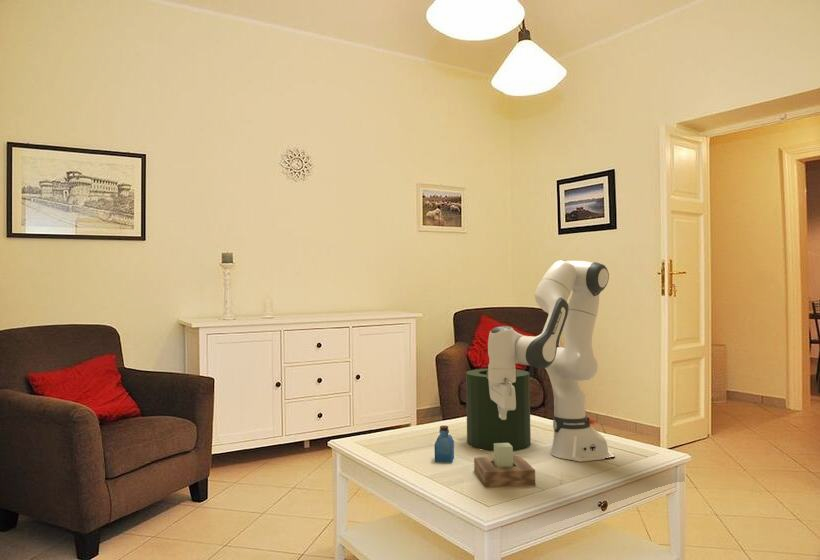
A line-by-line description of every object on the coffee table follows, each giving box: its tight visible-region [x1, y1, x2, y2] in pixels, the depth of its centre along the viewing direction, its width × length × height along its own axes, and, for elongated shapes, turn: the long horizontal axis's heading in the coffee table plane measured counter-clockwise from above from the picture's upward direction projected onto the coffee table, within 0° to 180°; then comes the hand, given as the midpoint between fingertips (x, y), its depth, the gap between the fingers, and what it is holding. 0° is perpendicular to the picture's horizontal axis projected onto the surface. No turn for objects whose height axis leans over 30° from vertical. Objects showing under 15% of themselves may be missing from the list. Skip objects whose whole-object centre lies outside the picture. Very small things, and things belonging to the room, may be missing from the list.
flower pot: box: [465, 368, 532, 452], centre depth 228 cm, size 25×25×28 cm
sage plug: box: [493, 443, 514, 467], centre depth 185 cm, size 5×5×9 cm
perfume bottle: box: [434, 425, 455, 464], centre depth 205 cm, size 6×6×12 cm
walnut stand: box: [473, 455, 536, 488], centre depth 185 cm, size 16×16×4 cm
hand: (502, 418), depth 185 cm, fingers closed
